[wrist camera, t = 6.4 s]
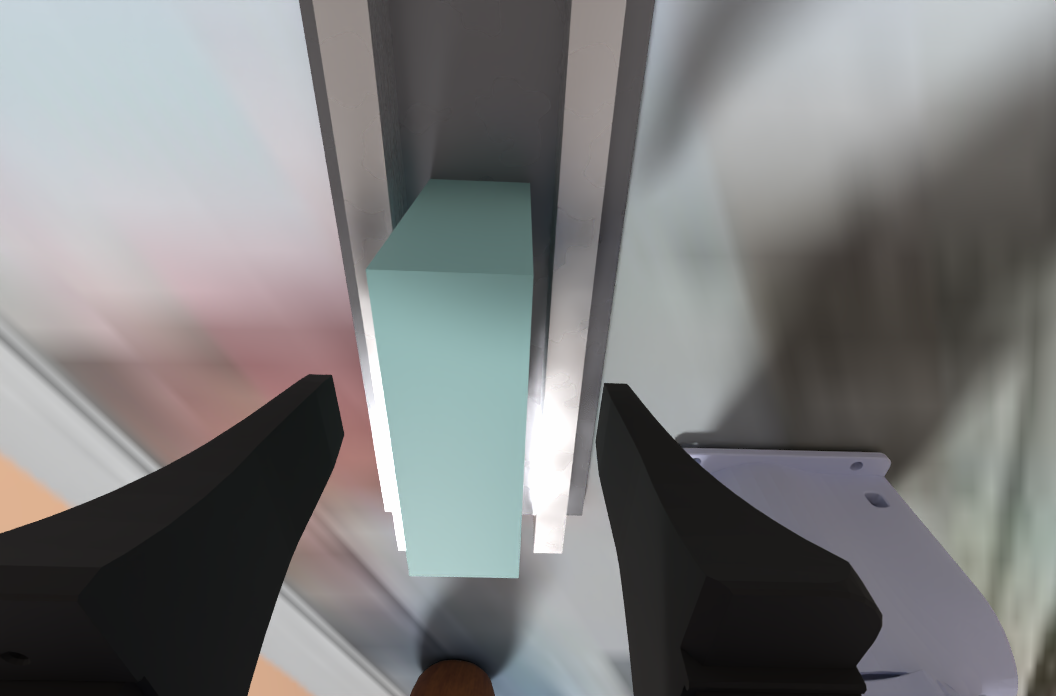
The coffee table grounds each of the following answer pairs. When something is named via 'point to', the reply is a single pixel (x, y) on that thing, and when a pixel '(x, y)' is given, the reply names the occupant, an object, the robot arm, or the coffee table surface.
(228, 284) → the coffee table surface
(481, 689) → the wooden figurine
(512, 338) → the door panel
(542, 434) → the track
